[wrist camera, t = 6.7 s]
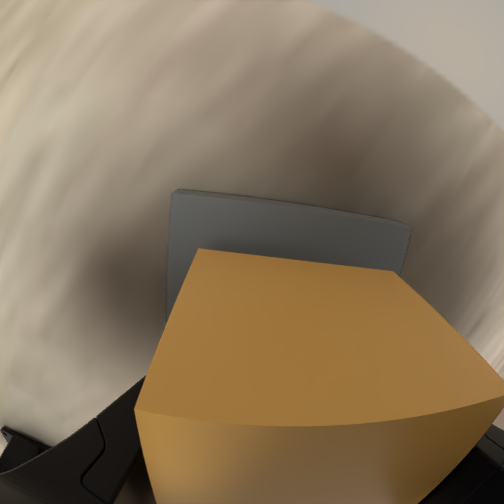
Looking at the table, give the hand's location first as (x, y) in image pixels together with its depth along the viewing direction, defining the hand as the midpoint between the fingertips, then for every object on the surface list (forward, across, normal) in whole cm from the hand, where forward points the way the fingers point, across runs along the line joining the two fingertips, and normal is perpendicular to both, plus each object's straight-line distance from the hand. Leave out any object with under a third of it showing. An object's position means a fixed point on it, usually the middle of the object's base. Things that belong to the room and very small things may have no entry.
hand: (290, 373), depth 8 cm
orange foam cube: (+1, 0, 0) cm, 1 cm away
